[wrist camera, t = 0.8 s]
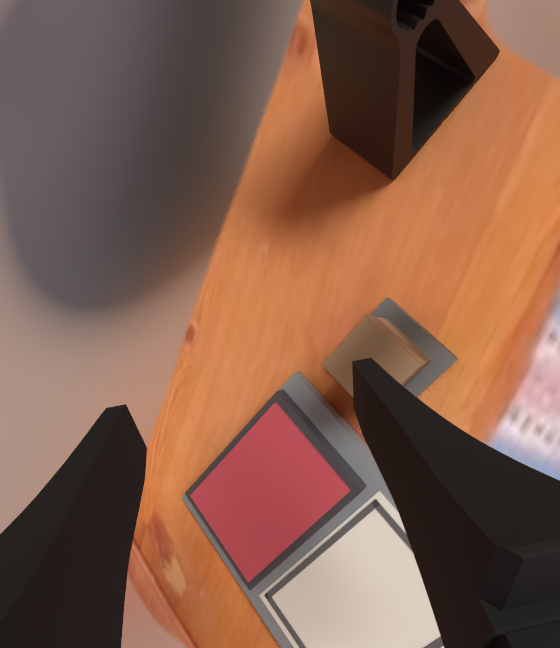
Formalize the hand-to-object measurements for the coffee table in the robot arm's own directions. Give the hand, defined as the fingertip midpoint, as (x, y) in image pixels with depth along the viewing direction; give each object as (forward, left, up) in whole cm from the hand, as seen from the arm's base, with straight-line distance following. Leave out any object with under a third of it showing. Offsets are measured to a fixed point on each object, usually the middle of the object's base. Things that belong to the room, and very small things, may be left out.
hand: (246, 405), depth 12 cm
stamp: (-1, -2, -16) cm, 16 cm away
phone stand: (+10, -15, -16) cm, 24 cm away
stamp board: (-6, +11, -16) cm, 20 cm away
